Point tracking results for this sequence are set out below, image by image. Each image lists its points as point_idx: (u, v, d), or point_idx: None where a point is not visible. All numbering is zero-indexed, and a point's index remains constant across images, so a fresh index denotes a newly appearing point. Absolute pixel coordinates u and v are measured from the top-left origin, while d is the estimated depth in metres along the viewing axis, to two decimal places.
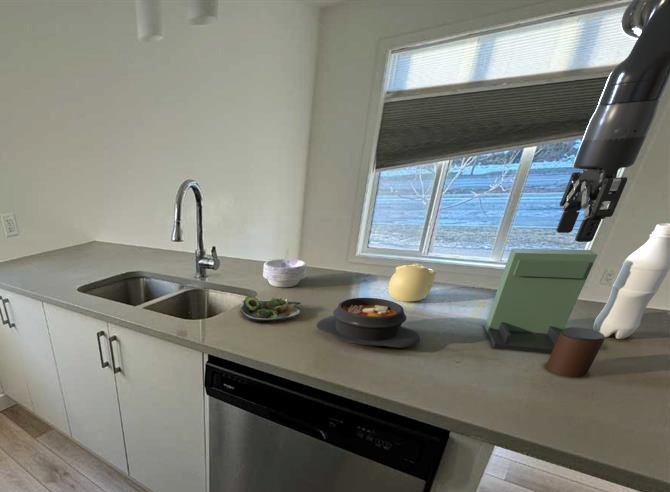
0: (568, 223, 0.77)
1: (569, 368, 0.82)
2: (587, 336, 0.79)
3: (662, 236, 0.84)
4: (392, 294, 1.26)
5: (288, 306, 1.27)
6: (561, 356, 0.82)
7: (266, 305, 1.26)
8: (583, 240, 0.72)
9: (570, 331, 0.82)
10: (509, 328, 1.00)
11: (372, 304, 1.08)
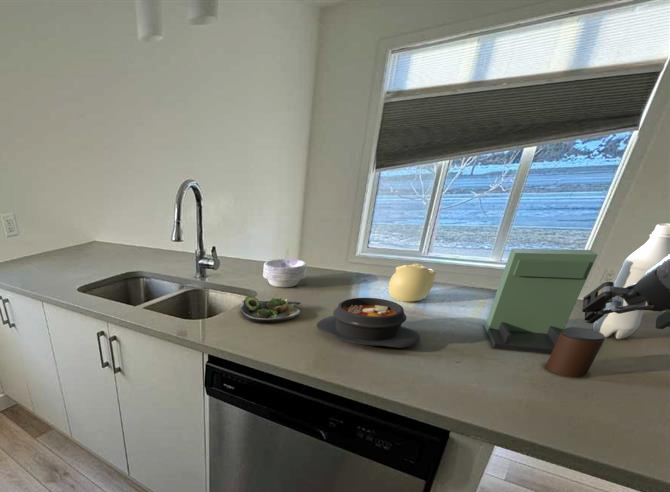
0: None
1: (569, 368, 0.82)
2: (587, 336, 0.79)
3: (662, 236, 0.84)
4: (392, 294, 1.26)
5: (288, 306, 1.27)
6: (561, 356, 0.82)
7: (266, 305, 1.26)
8: None
9: (570, 331, 0.82)
10: (509, 328, 1.00)
11: (372, 304, 1.08)
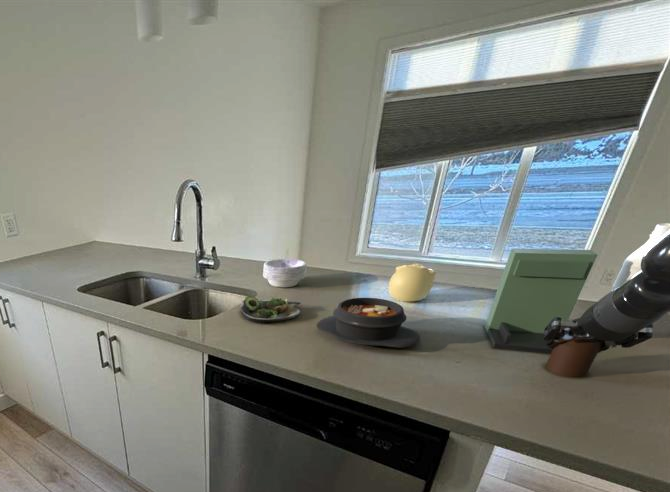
0: None
1: (569, 368, 0.82)
2: None
3: None
4: (392, 294, 1.26)
5: (288, 306, 1.27)
6: (561, 356, 0.82)
7: (266, 305, 1.26)
8: None
9: None
10: (509, 328, 1.00)
11: (372, 304, 1.08)
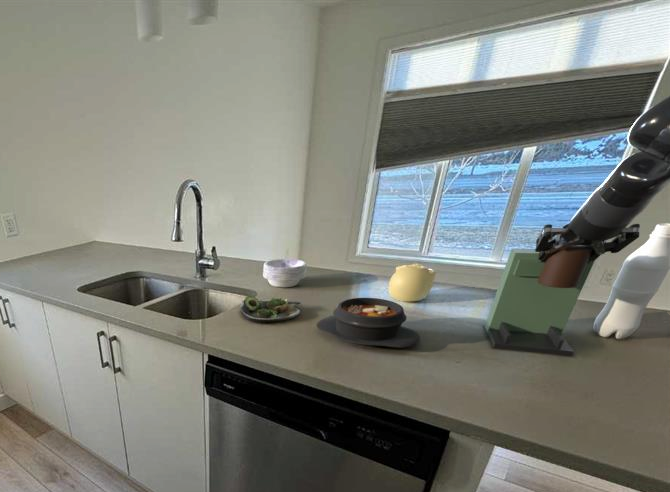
0: None
1: (560, 279, 0.84)
2: (577, 245, 0.82)
3: (662, 236, 0.84)
4: (392, 294, 1.26)
5: (288, 306, 1.27)
6: (552, 267, 0.85)
7: (266, 305, 1.26)
8: None
9: None
10: (509, 328, 1.00)
11: (372, 304, 1.08)
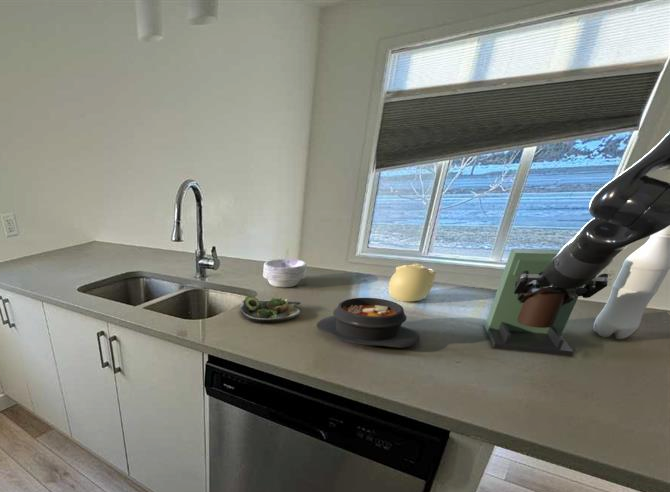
0: None
1: (537, 319, 0.91)
2: None
3: (662, 236, 0.84)
4: (392, 294, 1.26)
5: (288, 306, 1.27)
6: (530, 308, 0.91)
7: (266, 305, 1.26)
8: None
9: None
10: (509, 328, 1.00)
11: (372, 304, 1.08)
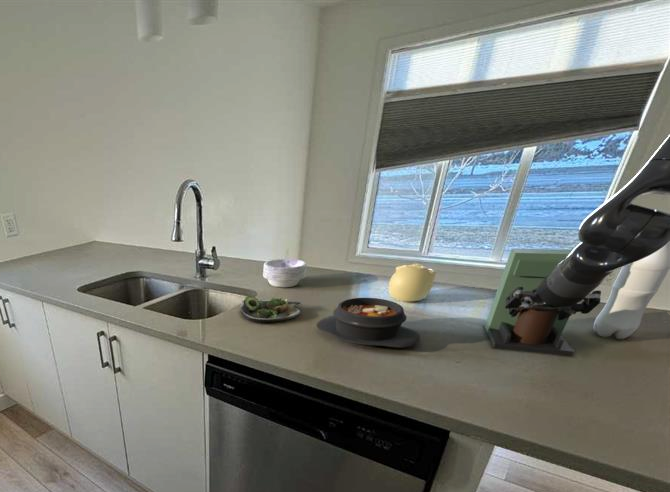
0: None
1: (529, 336, 0.93)
2: (544, 307, 0.90)
3: None
4: (392, 294, 1.26)
5: (288, 306, 1.27)
6: (523, 325, 0.93)
7: (266, 305, 1.26)
8: None
9: None
10: (509, 328, 1.00)
11: (372, 304, 1.08)
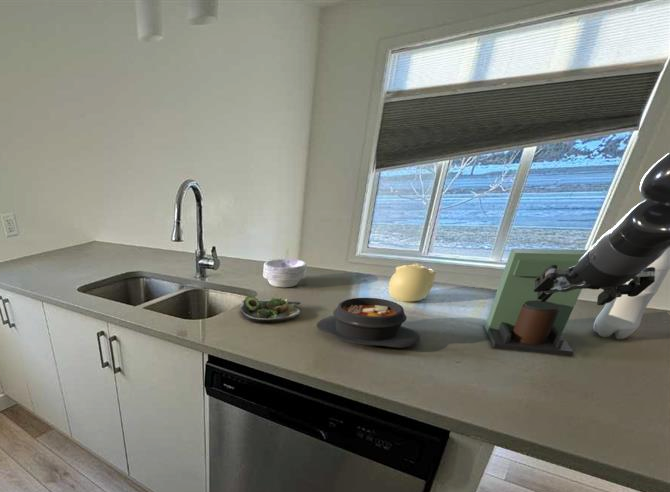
0: None
1: (529, 336, 0.93)
2: (544, 307, 0.90)
3: None
4: (392, 294, 1.26)
5: (288, 306, 1.27)
6: (523, 325, 0.93)
7: (266, 305, 1.26)
8: None
9: (531, 303, 0.92)
10: (509, 328, 1.00)
11: (372, 304, 1.08)
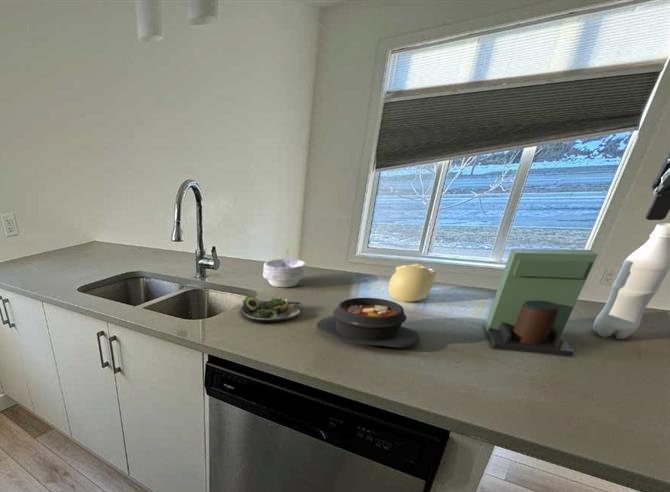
0: (661, 209, 0.67)
1: (529, 336, 0.93)
2: (544, 307, 0.90)
3: (662, 236, 0.84)
4: (392, 294, 1.26)
5: (288, 306, 1.27)
6: (523, 325, 0.93)
7: (266, 305, 1.26)
8: None
9: (531, 303, 0.92)
10: (509, 328, 1.00)
11: (372, 304, 1.08)
